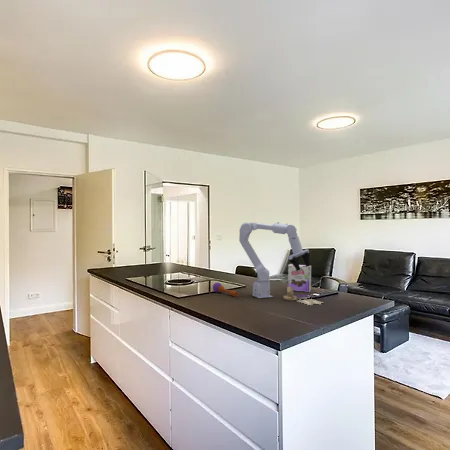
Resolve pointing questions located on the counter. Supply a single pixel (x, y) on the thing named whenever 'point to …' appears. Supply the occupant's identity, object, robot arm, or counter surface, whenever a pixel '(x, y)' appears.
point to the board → (309, 301)
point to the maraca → (219, 288)
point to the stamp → (290, 294)
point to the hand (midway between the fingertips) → (303, 268)
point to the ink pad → (302, 296)
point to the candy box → (299, 278)
